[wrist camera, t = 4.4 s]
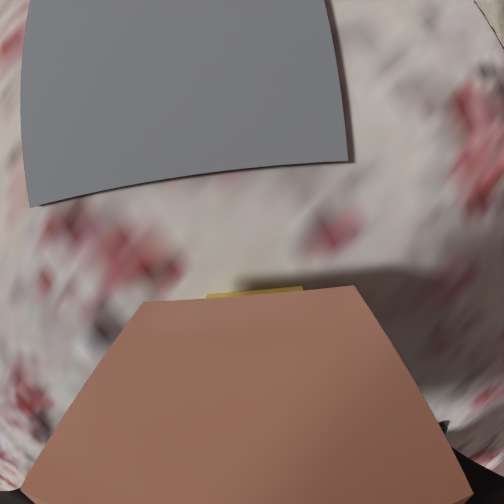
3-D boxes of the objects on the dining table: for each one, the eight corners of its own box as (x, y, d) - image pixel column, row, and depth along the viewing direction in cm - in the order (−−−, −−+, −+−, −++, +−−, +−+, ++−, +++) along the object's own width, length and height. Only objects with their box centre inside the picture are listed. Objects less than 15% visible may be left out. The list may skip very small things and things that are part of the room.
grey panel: (301, -70, 8) (302, -76, 7) (344, 160, 11) (348, 160, 11) (36, -2, 8) (31, -4, 8) (36, 205, 12) (30, 207, 11)
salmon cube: (353, 284, 9) (473, 493, 2) (342, 426, 11) (375, 576, 4) (143, 302, 9) (19, 489, 2) (187, 434, 11) (154, 580, 4)
